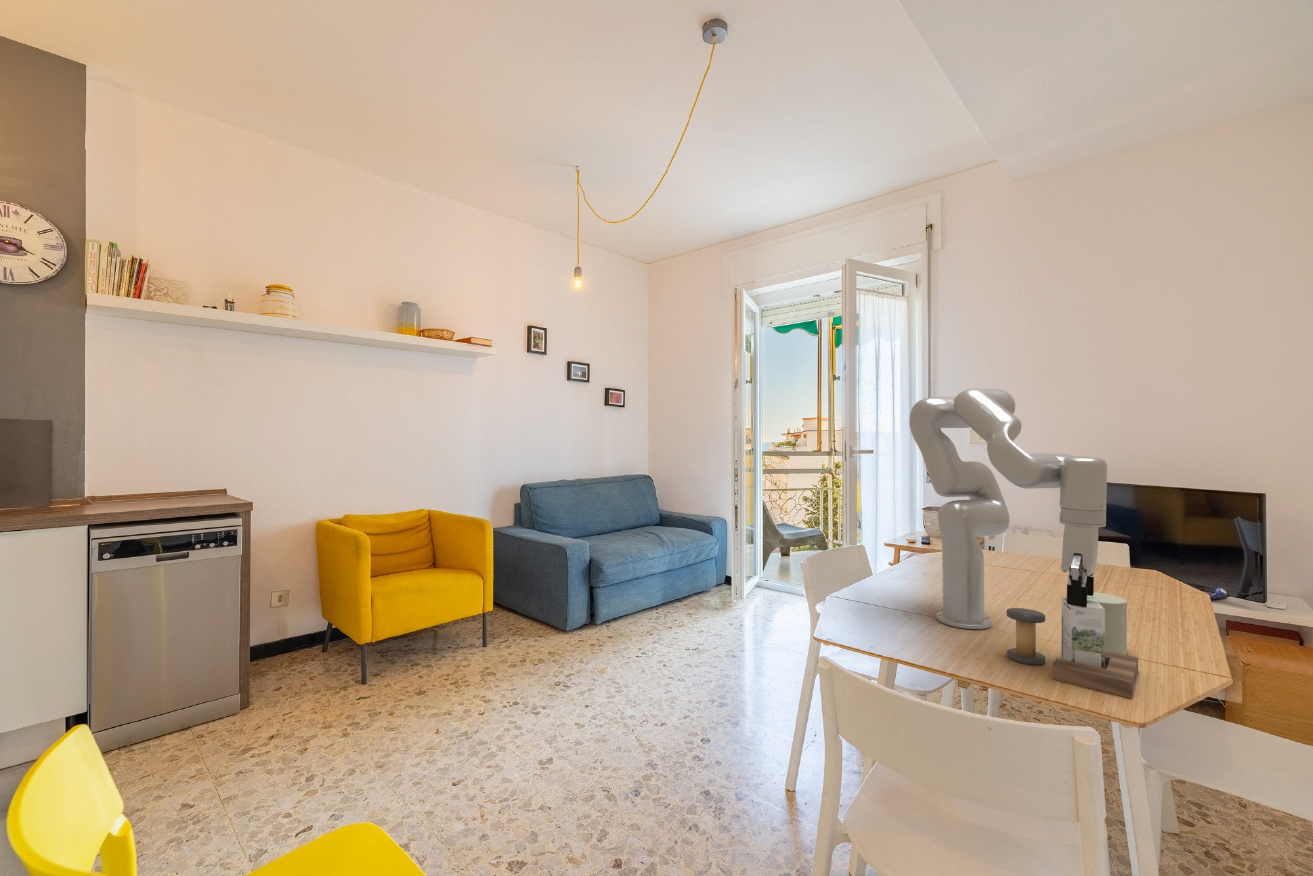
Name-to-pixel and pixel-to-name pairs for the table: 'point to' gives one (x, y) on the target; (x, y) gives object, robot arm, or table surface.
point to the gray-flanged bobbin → (1026, 636)
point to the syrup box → (1083, 633)
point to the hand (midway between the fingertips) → (1080, 599)
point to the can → (1113, 621)
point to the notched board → (1101, 674)
